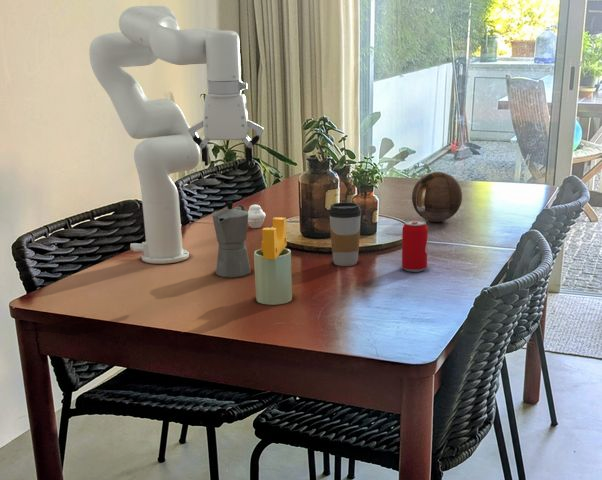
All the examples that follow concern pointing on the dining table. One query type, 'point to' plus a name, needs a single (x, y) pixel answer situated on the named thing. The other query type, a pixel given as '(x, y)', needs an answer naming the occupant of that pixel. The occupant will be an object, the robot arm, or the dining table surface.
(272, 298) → the tumbler
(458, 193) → the wooden sphere
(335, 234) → the coffee cup
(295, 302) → the dining table surface
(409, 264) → the beverage can
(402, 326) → the dining table surface
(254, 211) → the white rounded piece
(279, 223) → the yellow toy block
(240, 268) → the coffeepot
